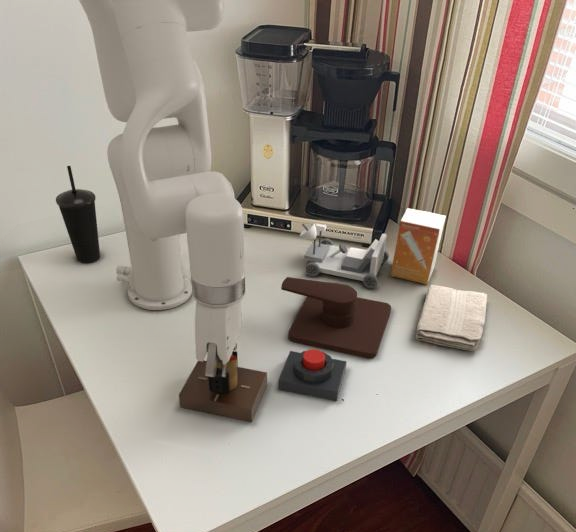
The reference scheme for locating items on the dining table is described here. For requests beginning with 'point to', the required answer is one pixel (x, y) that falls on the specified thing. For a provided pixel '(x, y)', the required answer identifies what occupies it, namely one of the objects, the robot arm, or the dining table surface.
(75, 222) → the drinking cup
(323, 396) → the switch block
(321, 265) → the toy car
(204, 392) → the dimmer panel
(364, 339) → the lever handle
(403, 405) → the dining table surface
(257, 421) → the dining table surface
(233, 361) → the dimmer knob
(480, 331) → the washcloth
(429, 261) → the small box
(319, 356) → the power button
